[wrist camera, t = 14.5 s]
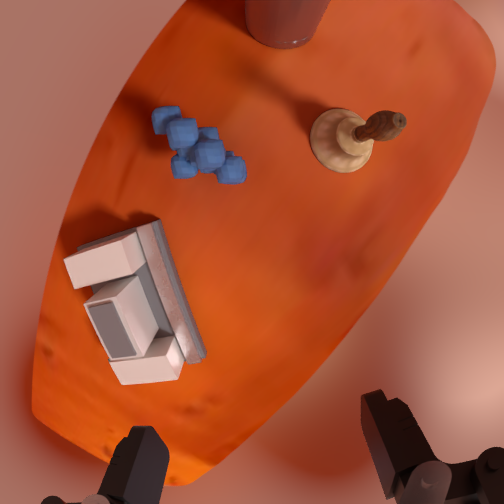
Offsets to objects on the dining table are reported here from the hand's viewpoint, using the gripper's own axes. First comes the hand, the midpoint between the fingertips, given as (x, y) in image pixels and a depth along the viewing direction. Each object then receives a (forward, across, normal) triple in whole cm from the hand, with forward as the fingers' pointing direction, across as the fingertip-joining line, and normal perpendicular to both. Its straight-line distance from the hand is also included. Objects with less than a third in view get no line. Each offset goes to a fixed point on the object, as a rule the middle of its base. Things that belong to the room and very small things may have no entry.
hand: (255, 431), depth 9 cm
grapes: (+29, +3, -12) cm, 31 cm away
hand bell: (+29, -14, -10) cm, 34 cm away
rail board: (+28, +17, +5) cm, 33 cm away
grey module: (+27, +18, +5) cm, 32 cm away
